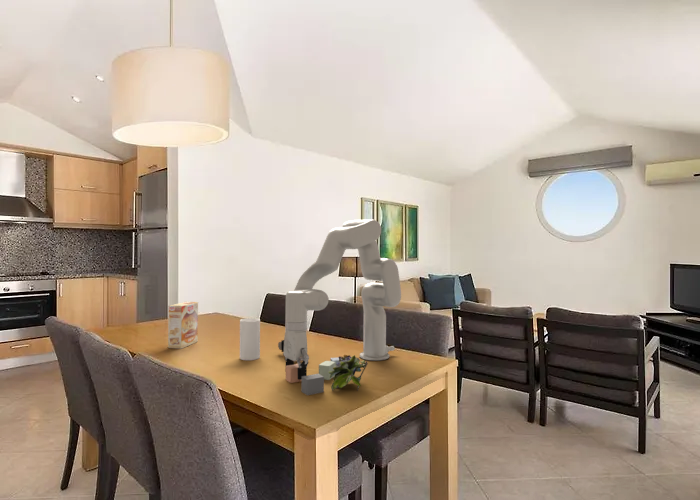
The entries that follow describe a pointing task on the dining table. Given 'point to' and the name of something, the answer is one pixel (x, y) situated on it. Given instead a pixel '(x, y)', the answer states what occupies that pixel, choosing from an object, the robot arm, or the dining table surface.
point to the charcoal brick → (312, 384)
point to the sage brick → (326, 369)
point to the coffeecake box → (182, 324)
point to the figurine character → (281, 346)
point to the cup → (249, 339)
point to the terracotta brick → (292, 373)
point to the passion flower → (347, 371)
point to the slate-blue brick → (335, 360)
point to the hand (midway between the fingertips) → (295, 375)
